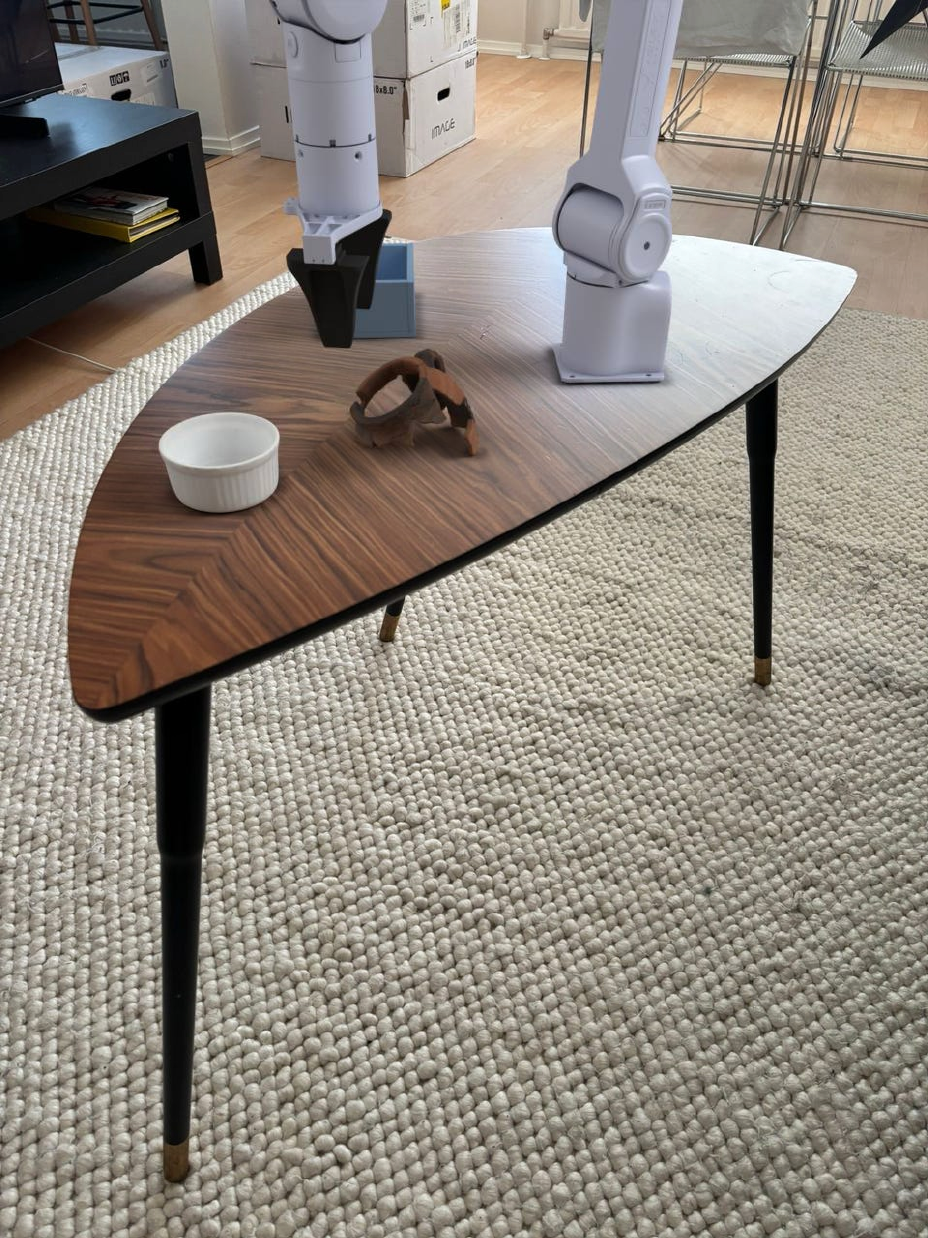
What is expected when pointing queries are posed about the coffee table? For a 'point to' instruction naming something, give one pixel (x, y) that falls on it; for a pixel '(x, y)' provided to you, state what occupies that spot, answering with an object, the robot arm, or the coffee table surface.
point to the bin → (390, 296)
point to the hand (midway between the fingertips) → (348, 326)
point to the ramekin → (222, 460)
